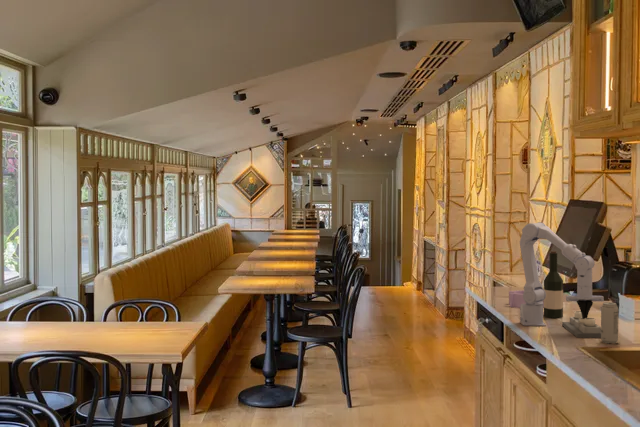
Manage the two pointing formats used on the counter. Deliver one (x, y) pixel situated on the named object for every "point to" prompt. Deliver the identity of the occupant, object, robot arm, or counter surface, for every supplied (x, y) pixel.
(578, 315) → the knob
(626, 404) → the counter surface
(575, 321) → the mount board
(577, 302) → the robot arm
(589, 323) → the knob
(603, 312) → the energy drink can
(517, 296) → the pink rectangular box
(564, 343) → the counter surface
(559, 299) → the wine bottle
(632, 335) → the counter surface
